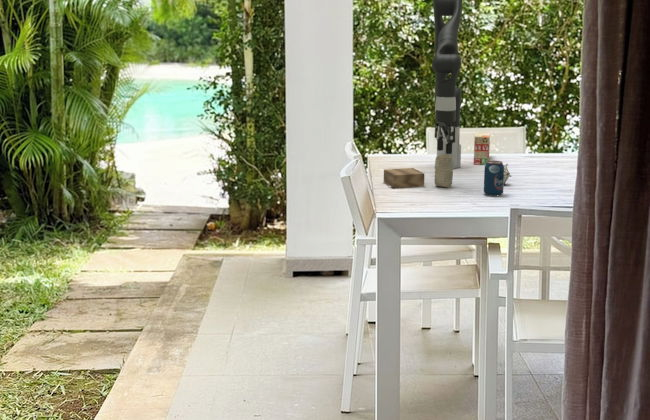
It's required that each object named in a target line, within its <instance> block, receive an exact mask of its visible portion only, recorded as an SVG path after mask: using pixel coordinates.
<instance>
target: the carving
mask: <svg viewBox="0 0 650 420" xmlns="http://www.w3.org/2000/svg"><path fill="white" fill-rule="evenodd" d="M434 161H435V162H434V175H433V176H434V177H433V178H434V184H435V186H436V187H440V188H441V187H443V188H448V187H449V188H450V187H452V185H453V176H454V171H453V170H454V168H453V157H452V156H451V155H446V154H445V155H442V154H441V155H437V154H436V157H435V160H434Z"/></svg>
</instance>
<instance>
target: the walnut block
mask: <svg viewBox="0 0 650 420" xmlns="http://www.w3.org/2000/svg"><path fill="white" fill-rule="evenodd" d="M383 183H384V184H385V185H387V186H389V187H391V188H392V189H406V188H407V189H409V188H423V187H425V173H424V172H422V171H420V170H417V169H416V168H415V167H408V168H407V167H406V168H405V167H404V168H387V169H383Z"/></svg>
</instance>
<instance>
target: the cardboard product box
mask: <svg viewBox="0 0 650 420" xmlns="http://www.w3.org/2000/svg"><path fill="white" fill-rule="evenodd" d="M474 134H475V135H474V143H473V144H474V145H473V146H474V147H473V166H485V165H486V162H487V161H490V145H491V144H490V139H491V138H490V136H491V135H490V134H491V133H490V132H477V131H475V133H474Z"/></svg>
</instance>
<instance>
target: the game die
mask: <svg viewBox="0 0 650 420" xmlns="http://www.w3.org/2000/svg"><path fill="white" fill-rule="evenodd" d="M503 166H504V181H503V186H506V185H507V184H506V182H507V181H508V180H509V177H512V175H510V172H509V169H508V163H506V164H503Z"/></svg>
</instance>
